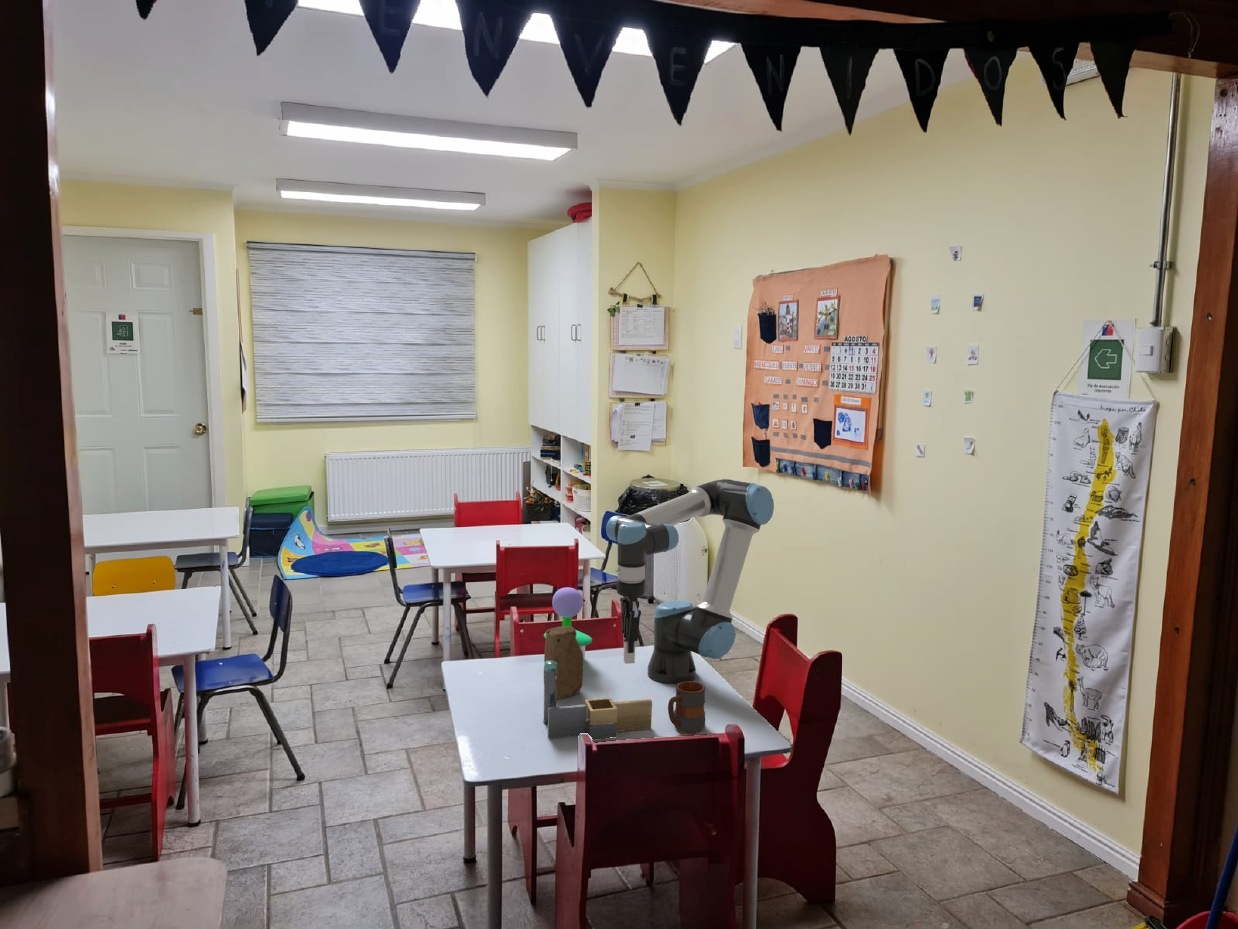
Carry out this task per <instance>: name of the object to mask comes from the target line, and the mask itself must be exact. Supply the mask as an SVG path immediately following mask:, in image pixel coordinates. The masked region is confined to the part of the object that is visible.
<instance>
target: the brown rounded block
mask: <svg viewBox="0 0 1238 929" xmlns="http://www.w3.org/2000/svg"><path fill="white" fill-rule="evenodd" d="M545 633H546V639H545V643H544V656H543V659H544V660H543V661H544V662H543V663H545V661H549V660H553V661H556V662H557V699H566V698H571V696H575V695H577V694H578V693H579V692H580V691H581V689H582V686H583V680H584V659H583V653H582V650H581V648H580V646H579V643H578V642H577V640H576V629H575V627H570V626H563V627H562V626H556V627H552V628H551V627H550V628H548V629H546V631H545Z"/></svg>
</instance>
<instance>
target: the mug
mask: <svg viewBox="0 0 1238 929" xmlns="http://www.w3.org/2000/svg"><path fill="white" fill-rule="evenodd" d="M675 687H676V689H675V696H672V697H671V698H669V700H668V704H667V711H668V712H667V713H668V717H669V720H670V722H671V724H672V725H673V726H674V728H675V729H676V731H679V732H681V733H683V732H684V733H683V734H698V733H700V732H702V731H703V730H704V729H705V727H706V712H705V704H706V688H705V686H704V685H703V684H702V683H700V682H699V681H698V682H697V681H693V680H691V681H686V682H681V683H677V685H676V686H675ZM674 705H675V707H674ZM674 708H675V709H674Z"/></svg>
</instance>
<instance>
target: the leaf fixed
mask: <svg viewBox="0 0 1238 929" xmlns="http://www.w3.org/2000/svg"><path fill="white" fill-rule="evenodd" d="M617 732H618V731H617V724H616V723H610V724H599V725H590V724H589V722H588V720H587V718H586V705H585V704H577V705H573V704H572V705H564V706H556V707H548V725H547V738H548V739H549V740H550V739H561V738H573V737H579V736H578V735H579V734H580V733H588V734H589V735H590V736H591V737H592V739H593V740H592V741H597V740H607V739H606V738H610V737H616V738H617ZM610 739H611V738H610Z"/></svg>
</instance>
